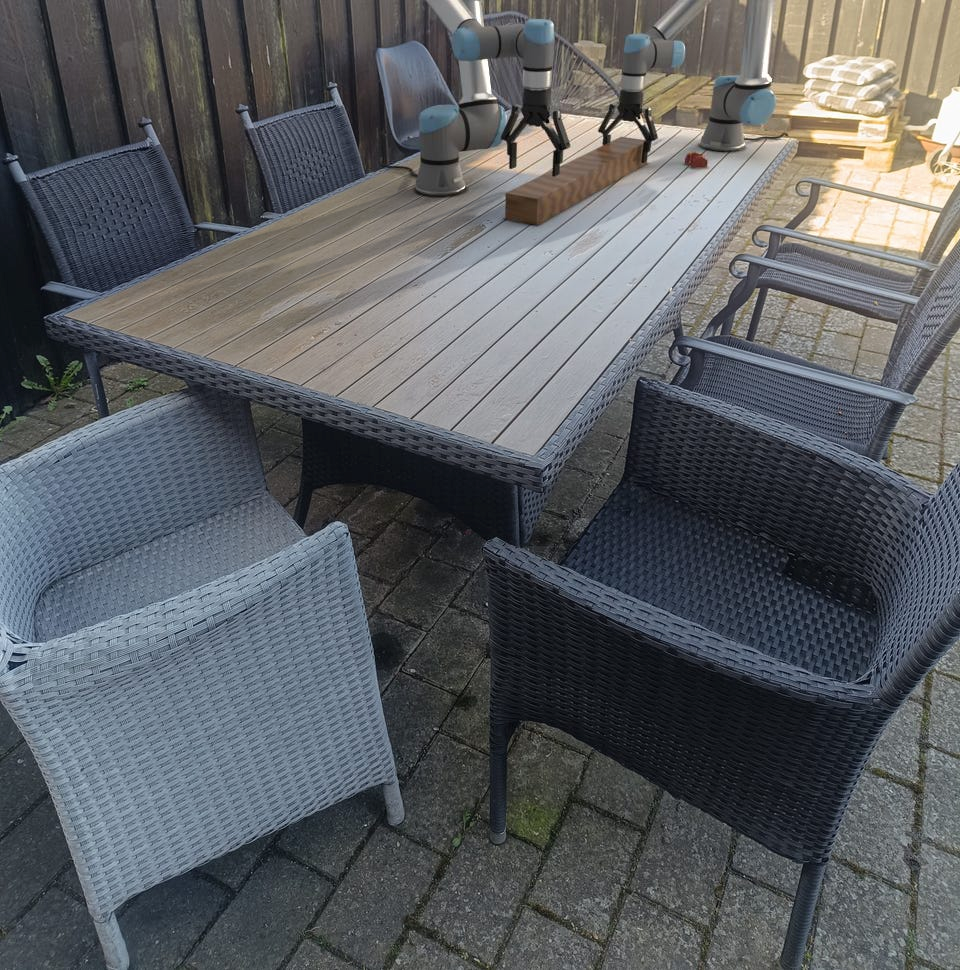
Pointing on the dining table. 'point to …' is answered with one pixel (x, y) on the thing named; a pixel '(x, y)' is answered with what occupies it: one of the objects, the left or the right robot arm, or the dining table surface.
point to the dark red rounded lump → (696, 160)
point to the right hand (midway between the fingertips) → (624, 159)
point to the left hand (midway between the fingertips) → (533, 171)
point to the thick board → (573, 181)
